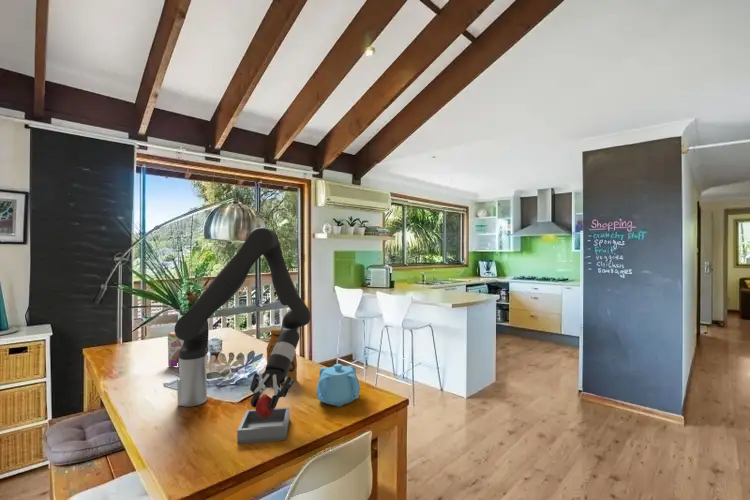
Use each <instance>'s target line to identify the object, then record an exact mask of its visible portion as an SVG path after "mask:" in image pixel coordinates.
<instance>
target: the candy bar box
mask: <svg viewBox="0 0 750 500" xmlns="http://www.w3.org/2000/svg"><path fill="white" fill-rule="evenodd" d="M183 342H184V340H180V339H179V338H177V336H176V335H175V331H172V332H168V333H167V349H168V350H167V354H168V356H167V357H168V358H167V359H168V366H177V363H178V362H179V351H180V349H181V347H182V345H183Z"/></svg>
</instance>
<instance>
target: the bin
mask: <svg viewBox="0 0 750 500" xmlns="http://www.w3.org/2000/svg"><path fill="white" fill-rule="evenodd" d="M290 412H291V411H290V406H289V407H275V408H274V411H273V413H272V414H271V415H270V416H269V417H268V418H267V419H263V418H262V417H261V416H259V415H258V414H257V412H256V409H246V410H245V412H244V414H243V416H242V419H241V421H240V424H239V426H238V428H237V433H236V436H237V437H236V438H237V439H236V442H237V443H236V444H237V445H240V444H252V443H265V442H266V443H267V442H279V441H287V436H288V435H287V434H288V429H289V423H290V419H291V417H290Z"/></svg>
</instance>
